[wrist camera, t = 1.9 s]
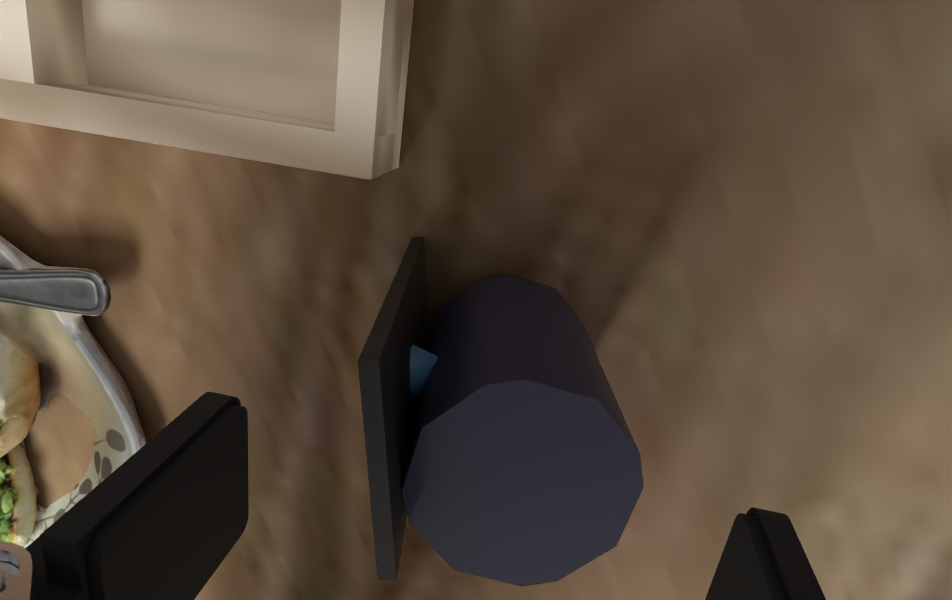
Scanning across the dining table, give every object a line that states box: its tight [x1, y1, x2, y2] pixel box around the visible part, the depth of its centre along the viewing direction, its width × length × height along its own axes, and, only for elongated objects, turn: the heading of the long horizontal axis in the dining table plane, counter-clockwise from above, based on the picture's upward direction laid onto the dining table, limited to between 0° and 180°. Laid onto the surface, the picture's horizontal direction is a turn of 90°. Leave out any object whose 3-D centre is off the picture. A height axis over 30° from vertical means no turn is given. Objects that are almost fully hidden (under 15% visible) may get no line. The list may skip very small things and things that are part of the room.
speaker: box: [358, 237, 643, 586], centre depth 18 cm, size 8×6×10 cm
